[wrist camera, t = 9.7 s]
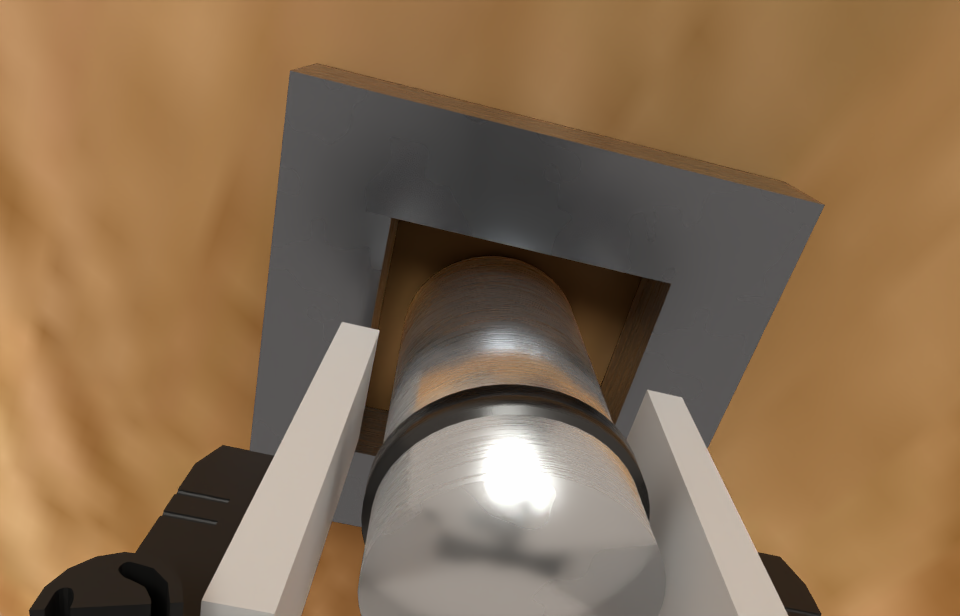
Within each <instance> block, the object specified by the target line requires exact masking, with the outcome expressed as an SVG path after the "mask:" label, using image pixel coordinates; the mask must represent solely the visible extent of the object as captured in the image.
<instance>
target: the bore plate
mask: <svg viewBox="0 0 960 616" xmlns="http://www.w3.org/2000/svg"><path fill="white" fill-rule="evenodd" d="M823 208H824V204H822V203H820V202H819V201H817V200H815V199H813V198H812V197H810V196H808V195H806V194H805V193H803V192H801V191H799V190H798V189H796V188H794V187H792V186H791V185H789V184H787V183H785V182H783V181H779V180H775V179H771V178H767V177H763V176H759V175H755V174H751V173H747V172H743V171H739V170H735V169H732V168H728V167H724V166H720V165H716V164H712V163H708V162H704V161H700V160H696V159H692V158H688V157H684V156H680V155H676V154H672V153H668V152H664V151H660V150H657V149H653V148H649V147H645V146H641V145H637V144H633V143H629V142H625V141H621V140H617V139H613V138H609V137H605V136H601V135H597V134H593V133H589V132H585V131H582V130H578V129H574V128H570V127H566V126H562V125H558V124H554V123H550V122H546V121H542V120H538V119H534V118H530V117H526V116H522V115H518V114H514V113H510V112H506V111H503V110H499V109H495V108H491V107H487V106H483V105H479V104H475V103H471V102H467V101H463V100H459V99H455V98H451V97H447V96H443V95H439V94H435V93H431V92H428V91H424V90H420V89H416V88H412V87H408V86H404V85H400V84H396V83H392V82H388V81H384V80H380V79H376V78H372V77H368V76H364V75H360V74H356V73H352V72H349V71H345V70H341V69H337V68H333V67H329V66H325V65H321V64H313V65H309V66H306V67H302V68H298V69H294V70H290V77H289V86H288V95H287V105H286V114H285V124H284V133H283V142H282V152H281V161H280V171H279V180H278V189H277V199H276V208H275V218H274V227H273V236H272V246H271V255H270V265H269V274H268V283H267V293H266V302H265V312H264V321H263V330H262V340H261V349H260V358H259V368H258V377H257V387H256V396H255V405H254V415H253V424H252V434H251V443H250V451H254V452H259V453H264V454H269V455H274V456H275V454H276V452H277V450H278V448H279V446H280V444H281V442H282V440H283V438H284V436H285V434H286V432H287V430H288V428H289V426H290V424H291V422H292V420H293V418H294V416H295V414H296V412H297V410H298V408H299V406H300V404H301V402H302V400H303V398H304V396H305V394H306V392H307V390H308V388H309V386H310V384H311V382H312V380H313V378H314V376H315V374H316V372H317V370H318V368H319V366H320V364H321V362H322V360H323V358H324V356H325V354H326V352H327V350H328V348H329V346H330V345H331V343H332V341H333V339H334V337H335V335H336V333H337V331H338V329H339V327H340V325H341V323H342V322H345V323H349V324H354V325H358V326H363V327H367V328H372V329H376V330H378V325H379V320H380V315H381V310H382V305H383V299H384V294H385V289H386V284H387V279H388V273H389V268H390V263H391V258H392V253H393V248H394V242H395V237H396V232H397V227H398V222H399V219H400V220H404V221H408V222H412V223H417V224H421V225H425V226H429V227H433V228H438V229H442V230H446V231H450V232H455V233H459V234H463V235H467V236H471V237H476V238H480V239H484V240H488V241H493V242H497V243H501V244H505V245H510V246H514V247H518V248H522V249H526V250H531V251H535V252H539V253H543V254H548V255H552V256H556V257H560V258H564V259H569V260H573V261H577V262H581V263H586V264H590V265H594V266H598V267H603V268H607V269H611V270H615V271H619V272H624V273H628V274H632V275H636V276H641V277H642V278H641V281H640V284H639V286H638V289H637V292H636V294H635V297H634V300H633V302H632V305H631V308H630V310H629V313H628V316H627V318H626V321H625V324H624V326H623V329H622V332H621V334H620V337H619V340H618V342H617V345H616V348H615V350H614V353H613V356H612V358H611V361H610V364H609V366H608V369H607V372H606V374H605V377H604V380H603V382H602V385H601V388H600V389H601V392H602V394H603V397H604V400H605V402H606V405H607V408H608V411H609V413H610V416H611V419H612V422H613V424H614V425H615V426H616V427H617V428H618V429H619V431H620V432H621V433H622V435H623V436H624V437H625V439H626V440H627V437H628V435H629V432H630V430H631V427H632V425H633V423H634V420H635V418H636V415H637V413H638V410H639V408H640V406H641V403H642V401H643V398H644V396H645V394H646V391H647V390H651V391H655V392H660V393H664V394H669V395H673V396H678V397H682V398H683V400H684V402H685V404H686V406H687V409H688V411H689V413H690V415H691V417H692V419H693V421H694V423H695V425H696V427H697V429H698V431H699V433H700V435H701V437H702V439H703V441H704V443H705V445H706V448H708V446H709V444H710V442H711V440H712V438H713V436H714V434H715V431H716V429H717V427H718V425H719V423H720V421H721V419H722V417H723V415H724V413H725V411H726V409H727V407H728V405H729V402H730V400H731V398H732V396H733V394H734V392H735V390H736V388H737V386H738V384H739V382H740V380H741V378H742V375H743V373H744V371H745V369H746V367H747V365H748V363H749V361H750V359H751V357H752V355H753V353H754V351H755V349H756V346H757V344H758V342H759V340H760V338H761V336H762V334H763V332H764V330H765V328H766V326H767V324H768V322H769V320H770V317H771V315H772V313H773V311H774V309H775V307H776V305H777V303H778V301H779V299H780V297H781V295H782V293H783V290H784V288H785V286H786V284H787V282H788V280H789V278H790V276H791V274H792V272H793V270H794V268H795V266H796V264H797V261H798V259H799V257H800V255H801V253H802V251H803V249H804V247H805V245H806V243H807V241H808V239H809V237H810V234H811V232H812V230H813V228H814V226H815V224H816V222H817V220H818V218H819V216H820V214H821V212H822V210H823ZM388 413H389V411H385V410H380V409H375V408H371V407H366V406H365V409H364V414H363V419H362V424H361V429H360V434H359V440H358V443H357V446H356V449H355V452H354V455H353V458H352V461H351V464H350V467H349V470H348V473H347V476H346V480H345V483H344V486H343V489H342V492H341V495H340V498H339V501H338V504H337V507H336V510H335V513H334V516H333V520H332V521H333V522H338V523H343V524H348V525H354V526H359V527H362V523H361V515H362V507H363V500H364V495H365V490H366V485H367V480H368V476H369V473H370V469H371V466H372V463H373V461H374V459H375V457H376V455H377V453H378V451H379V449H380V447H381V446H382V445H383V442H384V436H385V430H386V425H387V419H388Z"/></svg>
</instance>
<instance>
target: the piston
mask: <svg viewBox="0 0 960 616" xmlns="http://www.w3.org/2000/svg"><path fill="white" fill-rule="evenodd" d="M649 519H650V504H649V497H648V491H647V488H646V485H645V482H644V479H643V476H642V473H641V471H640V468H639V466H638V463H637V461H636V458H635V455H634V453H633V451H632V449H631V447H630V445H629V443H628V442H627V440H626V439H625V437H624V436H623V435H622V433H621V432H620V431H619V429H618V428H617V427H616V426H615V425H614V424H613V422H612V419H611V416H610V413H609V411H608V408H607V405H606V402H605V400H604V397H603V394H602V392H601V389H600V386H599V383H598V381H597V378H596V375H595V372H594V370H593V367H592V364H591V361H590V359H589V356H588V353H587V350H586V348H585V345H584V342H583V339H582V337H581V334H580V331H579V328H578V326H577V323H576V320H575V317H574V315H573V312H572V309H571V307H570V304H569V302H568V300H567V298H566V296H565V294H564V293H563V291H562V290H561V289H560V287H559V286H558V285H557V284H556V283H555V282H554V281H553V280H552V279H551V278H550V277H549V276H548V275H546V274H545V273H544V272H543V271H541V270H539V269H538V268H536V267H534V266H532V265H530V264H528V263H525V262H523V261H520V260H516V259H513V258H507V257H500V256H483V257H474V258H470V259H466V260H462V261H459V262H457V263H454V264H452V265H450V266H448V267H446V268H444V269H442V270H441V271H439V272H438V273H436V274H435V275H433V276H432V277H431V278H430V279H429V280H428V281H427V282H426V283H425V284H424V285H423V286H422V287H421V288H420V289H419V291H418V292H417V294H416V295H415V297H414V298H413V300H412V302H411V304H410V306H409V309H408V311H407V315H406V318H405V323H404V329H403V334H402V340H401V346H400V351H399V357H398V363H397V368H396V374H395V380H394V385H393V391H392V397H391V402H390V408H389V413H388V419H387V425H386V430H385V436H384V442H383V445H382V446H381V447H380V449H379V451H378V453H377V455H376V457H375V459H374V461H373V463H372V466H371V469H370V473H369V476H368V480H367V485H366V490H365V495H364V500H363V507H362V515H361V523H362V534H363V539H364V543H365V549H364V555H363V560H362V566H361V572H360V577H359V586H358V602H359V608H360V612H361V616H658V615H659V612H660V610H661V607H662V604H663V600H664V595H665V586H666V575H665V568H664V562H663V560H662V557H661V554H660V551H659V548H658V545H657V542H656V540H655V537H654V534H653V531H652V529H651V526H650V523H649Z"/></svg>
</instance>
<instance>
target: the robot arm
mask: <svg viewBox="0 0 960 616" xmlns="http://www.w3.org/2000/svg"><path fill="white" fill-rule="evenodd" d="M379 331H380V330H376V329H372V328H367V327H363V326H358V325H354V324H349V323H345V322H342V323H341V325H340V327H339V329H338V331H337V333H336V335H335V337H334V339H333V341H332V343H331V345H330V346H329V348H328V350H327V352H326V354H325V356H324V358H323V360H322V362H321V364H320V366H319V368H318V370H317V372H316V374H315V376H314V378H313V380H312V382H311V384H310V386H309V388H308V390H307V392H306V394H305V396H304V398H303V400H302V402H301V404H300V406H299V408H298V410H297V412H296V414H295V416H294V418H293V420H292V422H291V424H290V426H289V428H288V430H287V432H286V434H285V436H284V438H283V440H282V442H281V444H280V446H279V448H278V450H277V452H276V454H275V456H274V455H269V454H264V453H259V452H254V451H249V450H244V449H239V448H234V447H230V446H225V445H222V446H221V447H219V448H218V449H216V450H215V451H213V452H212V453H210V454H209V455H207V456H206V457H205V458H203V459H202V460H200V461H199V462H197V463H196V464H195V465H194V466H193V468H192V469H191V471H190V472H189V474H188V475H187V477H186V478H185V480H184V481H183V483H182V484H181V486H180V487H179V489H178V492H177V494H175V495H174V496H173V497H172V499H171V500H170V502H169V503H168V505H167V506H166V508H165V509H164V512H163V515H162V516H160V517H159V518H158V520H157V521H156V523H155V524H154V526H153V527H152V529H151V530H150V532H149V533H148V535H147V536H146V538H145V539H144V541H143V542H142V544H141V545H140V547H139V548H138V550H137V551H136V553H127V552H123V553H116V554H110V555H104V556H98V557H94V558H92V559H90V560H87V561H85V562H83V563H80V564H78V565H76V566H73V567H71V568H69V569H67V570H66V571H65V572H63V573H62V574H61V575H60V576H58V577H57V578H56V579H54V580H53V581H52V582H51V583H49V584H48V585H47V586H45V587H44V589H43V590H42V592H41V593H40V595H39V596H38V598H37V599H36V601H35V602H34V604H33V605H32V607H31V608H30V610H29V614H30V616H301V615H302V612H303V609H304V606H305V603H306V600H307V596H308V593H309V590H310V587H311V584H312V581H313V578H314V575H315V572H316V569H317V566H318V563H319V560H320V556H321V553H322V550H323V547H324V544H325V541H326V538H327V535H328V532H329V529H330V526H331V523H332V520H333V516H334V513H335V510H336V507H337V504H338V501H339V498H340V495H341V492H342V489H343V486H344V483H345V480H346V476H347V473H348V470H349V467H350V464H351V461H352V458H353V455H354V452H355V449H356V446H357V443H358V440H359V434H360V429H361V424H362V419H363V414H364V409H365V403H366V398H367V393H368V388H369V383H370V378H371V373H372V367H373V362H374V357H375V352H376V347H377V342H378V337H379ZM627 442H628V443H629V445H630V447H631V449H632V451H633V453H634V455H635V458H636V461H637V463H638V466H639V468H640V471H641V473H642V476H643V479H644V482H645V485H646V488H647V491H648V497H649V504H650V519H649V523H650V526H651V529H652V531H653V534H654V537H655V540H656V542H657V545H658V548H659V551H660V554H661V557H662V560H663V562H664V568H665V575H666V586H665V595H664V600H663V604H662V607H661V610H660V612H659V615H658V616H821V612H820V611H819V609H818V607H817V605H816V603H815V601H814V599H813V598H812V596H811V594H810V592H809V590H808V588H807V587H806V585H805V584H804V582H803V581H802V580H801V579H800V578H799V577H798V576H797V575H796V574H795V573H794V572H793V570H792V569H791V568H790V567H789V566H788V565H787V564H786V563H785V562H784V561H783V560H782V558H781V557H778V556H773V555H768V554H764V553H759V552H757V550H756V548H755V546H754V544H753V542H752V540H751V538H750V536H749V534H748V532H747V530H746V528H745V526H744V524H743V521H742V519H741V517H740V515H739V513H738V511H737V509H736V507H735V505H734V503H733V501H732V499H731V497H730V495H729V493H728V491H727V489H726V487H725V485H724V482H723V480H722V478H721V476H720V474H719V472H718V470H717V468H716V466H715V464H714V462H713V460H712V458H711V456H710V454H709V452H708V450H707V448H706V445H705V443H704V441H703V439H702V437H701V435H700V433H699V431H698V429H697V427H696V425H695V423H694V421H693V419H692V417H691V415H690V413H689V411H688V409H687V406H686V404H685V402H684V400H683V398H682V397H678V396H673V395H669V394H664V393H660V392H655V391H651V390H647V391H646V394H645V396H644V398H643V401H642V403H641V406H640V408H639V410H638V413H637V415H636V418H635V420H634V423H633V425H632V427H631V430H630V432H629V435H628V437H627Z"/></svg>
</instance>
